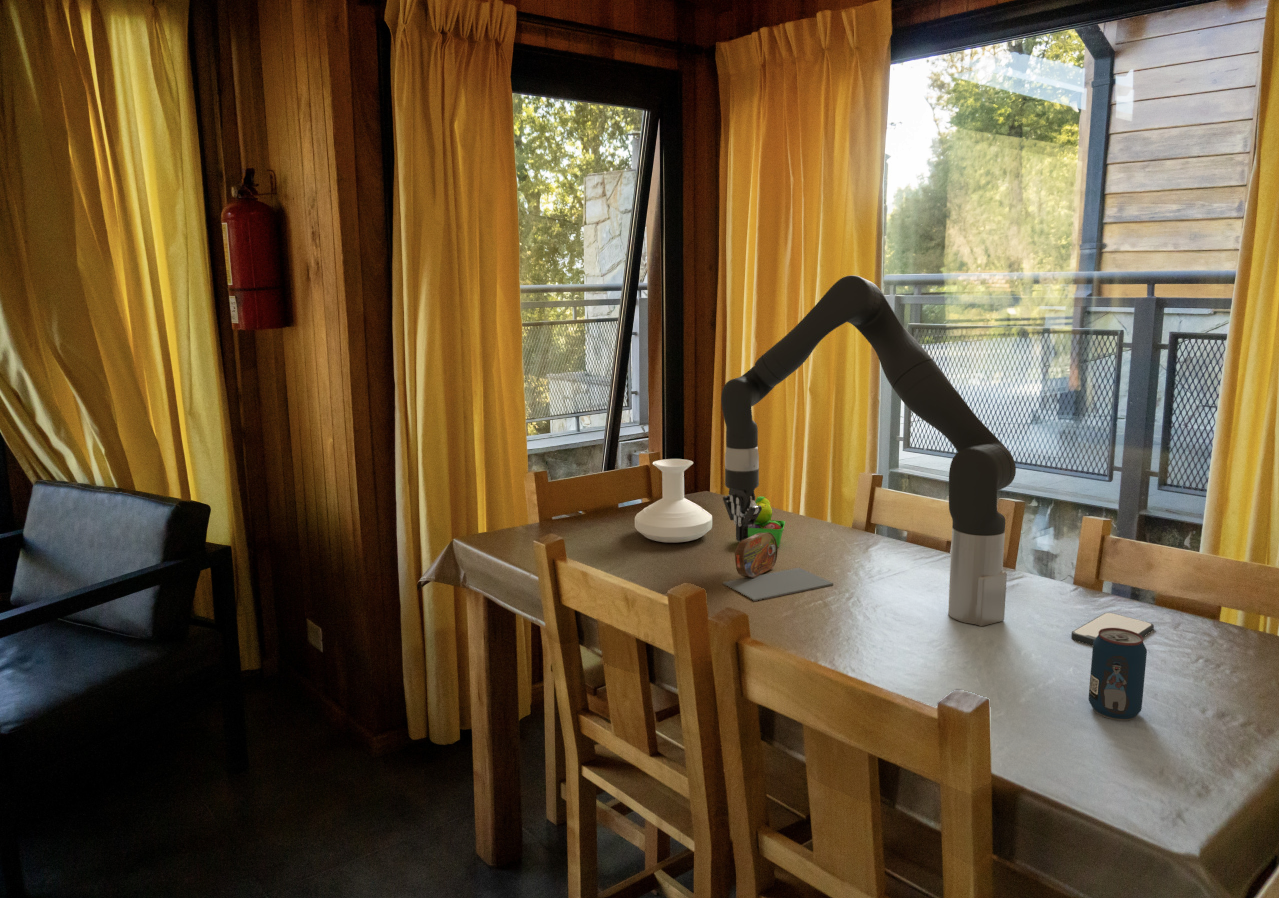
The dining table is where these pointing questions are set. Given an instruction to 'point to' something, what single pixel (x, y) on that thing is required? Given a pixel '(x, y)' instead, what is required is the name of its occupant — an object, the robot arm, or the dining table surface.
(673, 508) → the white vase
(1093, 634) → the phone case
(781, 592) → the mat
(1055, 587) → the dining table surface
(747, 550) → the tin
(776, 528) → the fruit basket
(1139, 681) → the soda can
